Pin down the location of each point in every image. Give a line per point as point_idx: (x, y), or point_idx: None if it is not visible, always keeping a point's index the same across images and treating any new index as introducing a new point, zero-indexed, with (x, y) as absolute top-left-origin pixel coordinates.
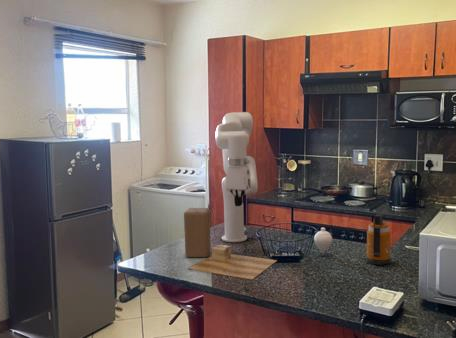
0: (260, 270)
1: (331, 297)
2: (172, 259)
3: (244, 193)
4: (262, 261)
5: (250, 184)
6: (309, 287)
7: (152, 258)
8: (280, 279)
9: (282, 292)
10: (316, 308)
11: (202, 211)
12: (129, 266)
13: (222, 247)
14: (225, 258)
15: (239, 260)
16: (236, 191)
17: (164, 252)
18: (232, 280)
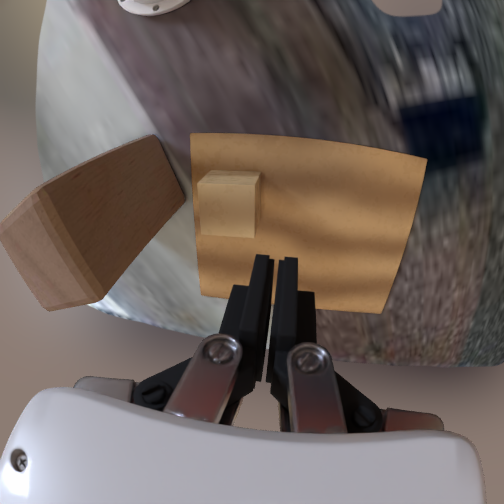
0: (393, 258)
1: (500, 327)
2: None
3: (355, 398)
4: (385, 181)
5: (463, 501)
6: (483, 307)
7: None
8: (440, 291)
9: (438, 339)
10: (472, 360)
11: (77, 293)
12: None
13: (233, 213)
14: (259, 214)
15: (305, 194)
16: (208, 397)
17: None
18: (337, 325)
